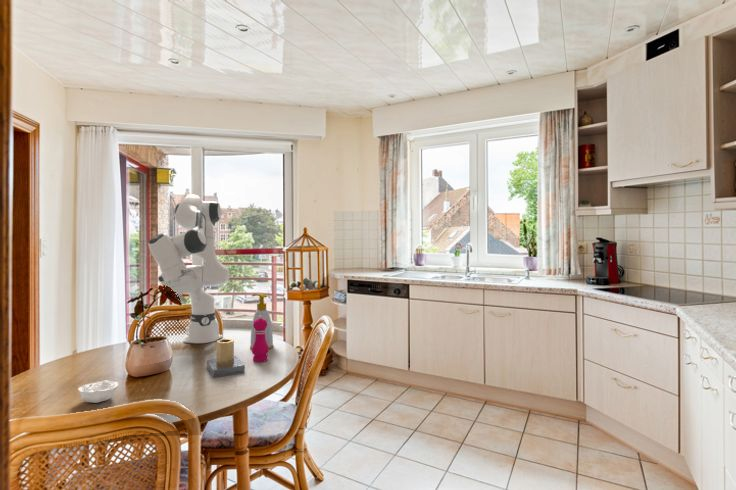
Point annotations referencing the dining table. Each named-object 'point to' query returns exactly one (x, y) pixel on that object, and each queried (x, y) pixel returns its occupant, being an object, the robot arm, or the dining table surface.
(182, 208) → the robot arm
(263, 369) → the dining table surface
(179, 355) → the dining table surface
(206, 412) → the dining table surface
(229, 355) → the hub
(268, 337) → the soap bottle
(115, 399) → the dining table surface
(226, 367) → the shaft block
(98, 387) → the cell model
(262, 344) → the pepper mill
